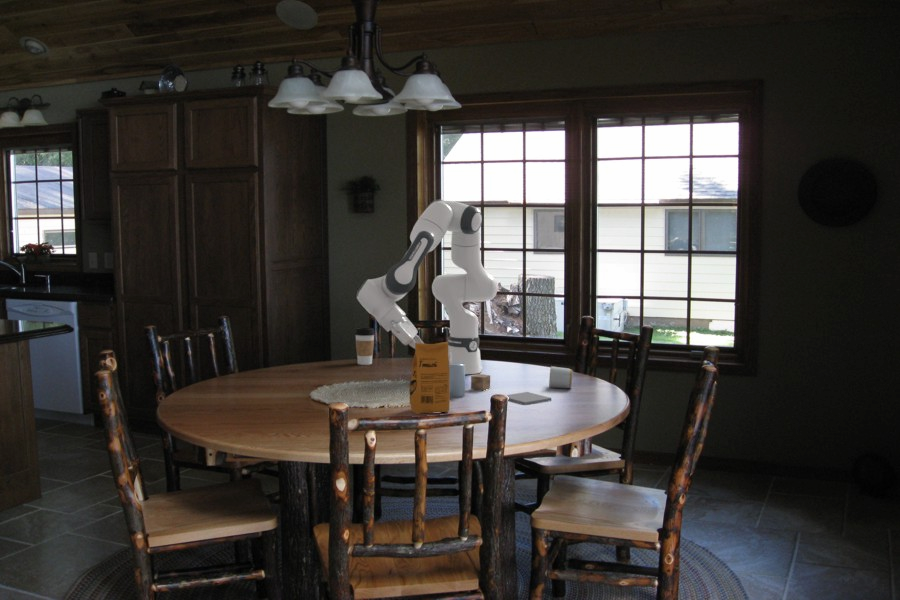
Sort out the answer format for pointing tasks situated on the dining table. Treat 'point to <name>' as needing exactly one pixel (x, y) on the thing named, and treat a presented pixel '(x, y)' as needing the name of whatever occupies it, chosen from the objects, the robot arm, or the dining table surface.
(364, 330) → the coffee cup
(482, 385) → the walnut block
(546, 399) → the pad
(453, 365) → the blue-grey tall cylinder
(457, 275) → the robot arm
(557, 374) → the grey rounded block
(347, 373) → the dining table surface
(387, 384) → the dining table surface
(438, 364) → the coffee package
